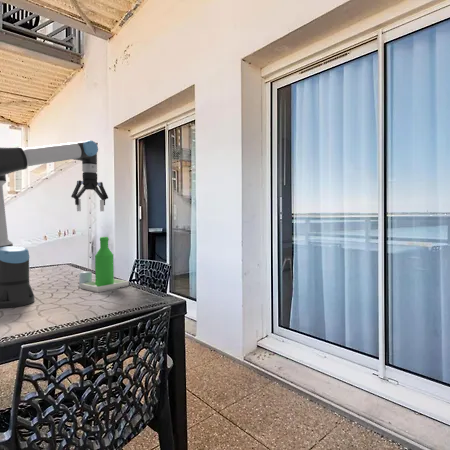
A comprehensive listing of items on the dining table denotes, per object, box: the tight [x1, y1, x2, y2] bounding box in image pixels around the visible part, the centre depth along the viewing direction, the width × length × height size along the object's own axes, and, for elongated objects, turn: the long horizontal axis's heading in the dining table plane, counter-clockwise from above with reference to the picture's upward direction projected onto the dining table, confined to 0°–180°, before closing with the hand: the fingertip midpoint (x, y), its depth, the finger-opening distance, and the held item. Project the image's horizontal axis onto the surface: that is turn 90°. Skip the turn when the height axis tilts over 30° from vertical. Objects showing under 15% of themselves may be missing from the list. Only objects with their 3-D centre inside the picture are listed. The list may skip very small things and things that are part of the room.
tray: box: [79, 278, 130, 293], centre depth 166 cm, size 18×15×2 cm
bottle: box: [94, 236, 115, 287], centre depth 166 cm, size 9×9×25 cm
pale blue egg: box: [78, 271, 93, 287], centre depth 171 cm, size 6×6×7 cm
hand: (90, 211), depth 179 cm, fingers open, 13 cm apart
